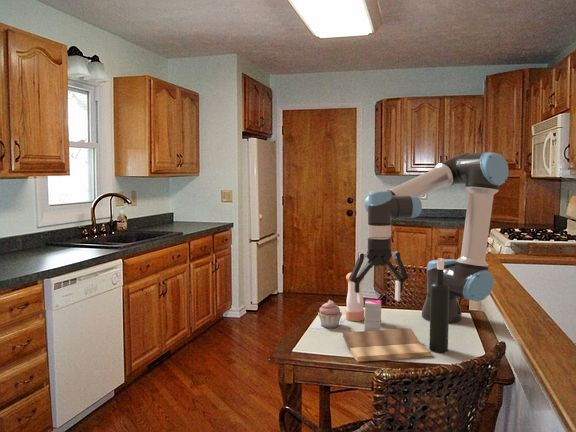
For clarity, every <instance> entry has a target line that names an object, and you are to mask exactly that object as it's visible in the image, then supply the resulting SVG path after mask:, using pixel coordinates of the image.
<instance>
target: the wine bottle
mask: <svg viewBox="0 0 576 432" xmlns="http://www.w3.org/2000/svg"><path fill="white" fill-rule="evenodd" d="M436 260H437V282H435V283H433V284H432V285H431V296H430V320H429V348H428V349H429V350H430V351H431V353H432V352H433V353H436V354H437V353H438V354H444V353H448V351H449V286H448V284H446V283H444V282H443V274H444V258H441V257H439V258H437V259H436Z"/></svg>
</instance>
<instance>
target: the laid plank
mask: <svg viewBox="0 0 576 432" xmlns="http://www.w3.org/2000/svg"><path fill="white" fill-rule="evenodd" d="M349 353H350V355H351V356H352V358H353V359H355V361H356V362H358V363H360V362H372V361H387V360H388V361H390V360H399V359H402V358H403V359H411V358H410V357H417V358H425V357H424V356H431V357H432V351H430V349H429V348H427V347H426V346H425V345H424V344H422V343H421V342H420V343H414V344H399V345H384V346H369V347H354V348H350V351H349Z"/></svg>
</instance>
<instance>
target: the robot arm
mask: <svg viewBox="0 0 576 432" xmlns="http://www.w3.org/2000/svg"><path fill="white" fill-rule="evenodd" d="M508 177H509V164H508V163H507V161H506V159H505V157H504V156H503V155H501V154H500V153H497V152H490V151H489V152H487V151H486V152H471V153H468V152H467V153H461V154H457V155H455V156H453V157H451V158H449V159H446V160H444V161H442V162H439V163H437V164H436V165H435V166H434V168H432V169H431V170H429V171H427V172H424V173H422V174H420V175H418V176H415V177H413V178H412V179H409V180H407V181H404V182H402V183H400V184H398V185H396V186H394V187H391V188H390V189H388V190H371V191H370V192H368V196H367V197H366V198H365V200H364V209H365V211H366V212H367V236H368V238H367V252H365V253H364V252H361V251H359V252H358V253H357V254H358V255H357V260H356V262H355V264H354V266H353V268H352V271H351V272H352V273H351V272H350V273H351V275H350V277H349V280H350V281H352V282H354V283H355V292H356V293H357V301H358V302H359V303H362V295H363V282H362V283H360V281H361V280H362V279H363V278H364V279H365V276H366V275H367V274H368V272H369V271H370V270H371V269H372V268H373V267H379V266H380V267H384V266H386V267H387V268H388V269H389V271H390V272H391V273H392V274H393V275H394V277H395V278H396V279H397V280H396V279H395V281H394V301H397V302H401V292H402V291H403V287H404V282H405V280H409V274H408V273H407V271H406V268H405V266H404V264H403V262H402V259H401V253H400V252H399V251H397V250H396V251H395V250H394V251H393V252H392V251H391V249H392V239H391V236H392V220H394V219H395V220H397V219H413V218H418V217H419V216H420V215H421V213H422V210H423V209H422V208H423V207H422V205H423V204H422V201H421V199H420V198H422V197H424V196H427V195H429V194H430V193H433V192H434V191H437V190H439V189H441V188H449V187H451V186H454V185H465V187H464V188H465V189H466V191H467V193H468V197H467V198H468V199H467V203H466V205H467V206H466V212H465V213H466V214H465V219H464V228H463V235H462V242H461V243H462V244H461V252H460V257H458V258H457V259H456V258H454V259H453V258H452V259H450V258H447V259H446V258H445V259H444V274H443V282H444V283H446V284H448V286H449V323H458V322H460V321H462V318H463V313H462V310H461V306H460V304H459V303H460V302H459V300H458V298H462V299H465V300H467V301H474V302H481V301H483V300H485V299H486V298H488V297H489V296H490V294H491V292H492V291H493V289H494V286H495V279H494V277H493V274H492V273H491V272H490V271H489V267H490V266H489V264H488V263H487V262H488V261H486V256H487V248H488V240H489V234H490V226H491V218H492V211H493V202H494V195H496V194H497V193H498V192H499V191H500V186H501V185H503V184H505V183H506V181H507V180H508ZM366 258H367V259H368V260H367V261H366V263H365V264H364V266H363V267H362V265H363V263H364V260H366ZM391 258H393V259H394V261H395V264H396V266H397V268H398V270H399V272H400V273H399V272H398V270H397V269H396V268H395V266H394V265H393V264H392V262H391V261H390V260H391ZM437 260H438V259H432V260H430V261H428V262H427V267H426V268H427V269H426V298H425V300H424V303H423V306H422V309H421V317H422V318H423V319H425V320H427V321H430V296H431V285H432V284H433V283H435V282H437ZM361 267H362V268H361ZM360 269H361V270H360ZM358 272H359V274H358ZM357 274H358V275H357ZM356 276H357V277H356Z"/></svg>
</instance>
